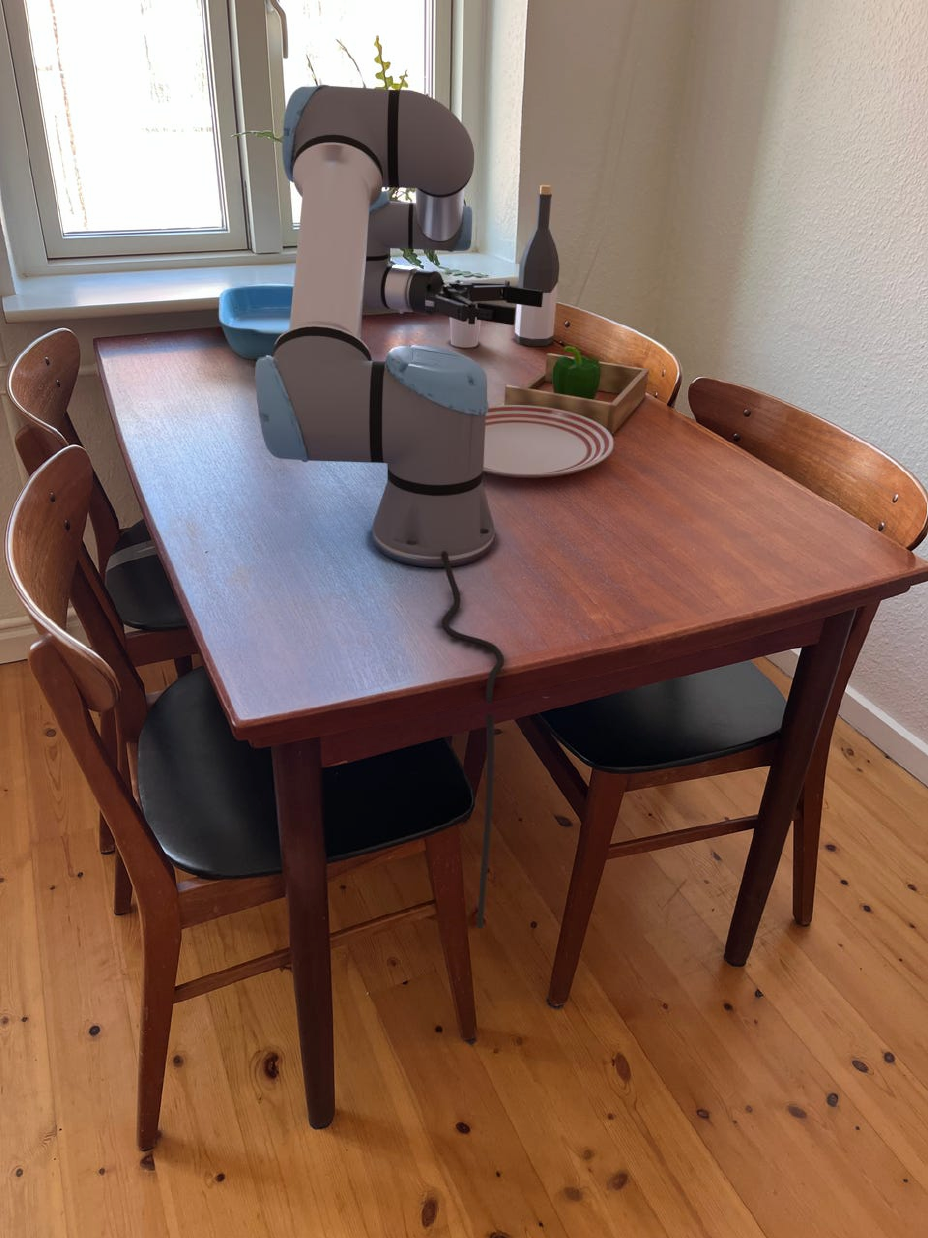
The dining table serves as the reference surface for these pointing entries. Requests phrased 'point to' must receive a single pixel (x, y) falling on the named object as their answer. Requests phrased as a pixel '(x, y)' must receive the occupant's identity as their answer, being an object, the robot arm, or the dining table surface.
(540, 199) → the wine bottle
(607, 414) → the crate
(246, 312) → the casserole dish
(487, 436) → the dinner plate
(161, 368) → the dining table surface
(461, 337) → the white cup
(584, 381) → the bell pepper
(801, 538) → the dining table surface
